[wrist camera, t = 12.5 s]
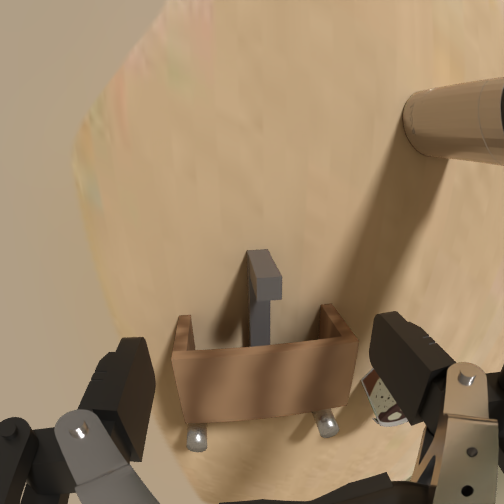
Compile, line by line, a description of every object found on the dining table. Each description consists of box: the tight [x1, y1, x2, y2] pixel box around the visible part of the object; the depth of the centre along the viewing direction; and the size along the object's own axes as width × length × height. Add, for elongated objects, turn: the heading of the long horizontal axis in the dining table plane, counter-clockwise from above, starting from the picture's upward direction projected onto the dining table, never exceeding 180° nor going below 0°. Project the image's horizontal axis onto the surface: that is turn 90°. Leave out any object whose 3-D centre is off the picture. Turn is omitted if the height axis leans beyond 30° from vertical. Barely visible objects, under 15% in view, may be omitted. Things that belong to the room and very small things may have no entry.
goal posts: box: [187, 409, 339, 452], centre depth 44 cm, size 23×3×6 cm, turn 92°
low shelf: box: [171, 304, 359, 423], centre depth 38 cm, size 20×10×10 cm, turn 92°
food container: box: [361, 368, 408, 427], centre depth 42 cm, size 12×6×10 cm, turn 141°
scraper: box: [247, 249, 282, 347], centre depth 37 cm, size 10×18×9 cm, turn 2°
